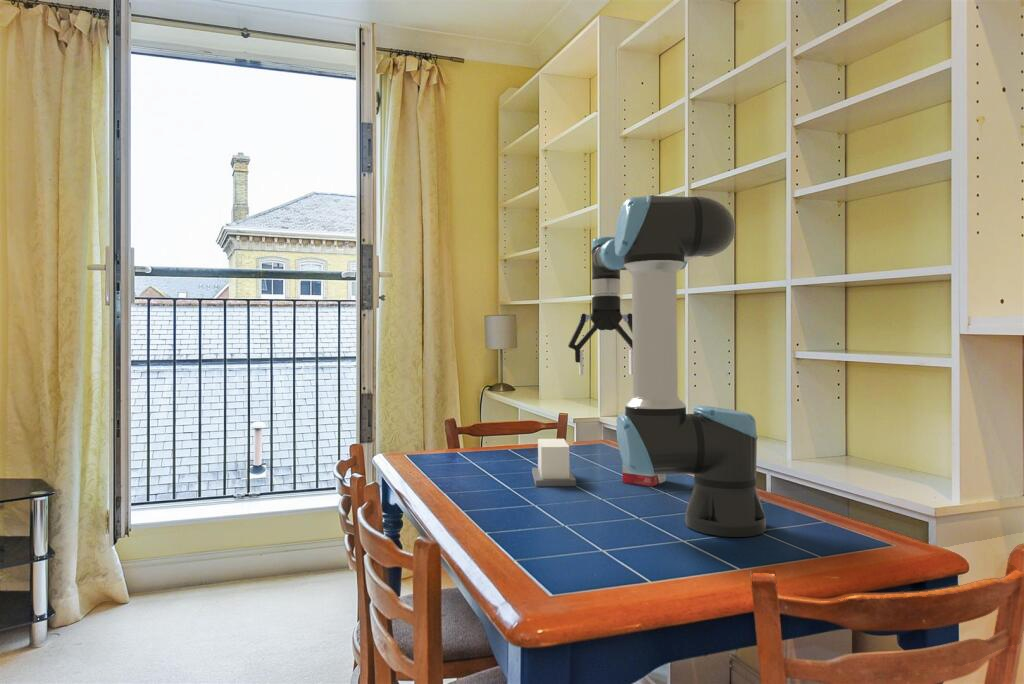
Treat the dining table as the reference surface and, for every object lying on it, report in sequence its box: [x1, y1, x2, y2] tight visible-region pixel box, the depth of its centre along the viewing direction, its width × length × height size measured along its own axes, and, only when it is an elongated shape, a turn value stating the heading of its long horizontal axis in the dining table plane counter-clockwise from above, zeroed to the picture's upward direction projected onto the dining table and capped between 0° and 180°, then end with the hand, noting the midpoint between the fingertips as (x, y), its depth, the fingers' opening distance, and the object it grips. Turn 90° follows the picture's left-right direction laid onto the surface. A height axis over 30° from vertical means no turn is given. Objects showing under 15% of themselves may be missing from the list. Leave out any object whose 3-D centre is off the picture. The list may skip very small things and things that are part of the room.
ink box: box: [621, 462, 667, 487], centre depth 173 cm, size 9×9×12 cm
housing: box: [537, 438, 570, 479], centre depth 177 cm, size 13×7×8 cm, turn 2°
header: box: [531, 466, 577, 488], centre depth 177 cm, size 16×10×6 cm, turn 2°
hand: (606, 374), depth 183 cm, fingers open, 13 cm apart
